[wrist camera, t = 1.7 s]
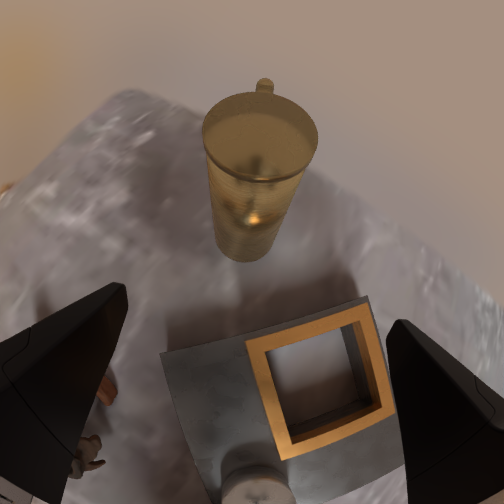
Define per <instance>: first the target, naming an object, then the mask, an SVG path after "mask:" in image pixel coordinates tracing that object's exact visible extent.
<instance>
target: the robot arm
mask: <svg viewBox="0 0 504 504" xmlns="http://www.w3.org/2000/svg"><path fill="white" fill-rule="evenodd" d="M127 311H128V299H127V291H126V286H125V285H124V284H122V283H117V282H112V283H110V284H108V285H106V286H104V287H102V288H101V289H99V290H97V291H95V292H93V293H91V294H89V295H87V296H85V297H83V298H82V299H80V300H78V301H76V302H74V303H72V304H70V305H68V306H67V307H65V308H63V309H61V310H59V311H57V312H56V313H54V314H52V315H50V316H48V317H46V318H45V319H43V320H41V321H39V322H37V323H36V324H34V325H32V326H31V327H28V328H27V329H25V330H23V331H21V332H20V333H18V334H16V335H14V336H12V337H10V338H9V339H7V340H5V341H2V342H0V504H31V502H32V498H33V496H35V497H37V498H39V499H41V500H43V501H45V502H47V503H49V504H61V500H62V497H63V493H64V489H65V485H66V482H67V478H68V475H69V472H70V468H71V465H72V462H73V459H74V455H75V452H76V449H77V446H78V443H79V440H80V437H81V434H82V431H83V428H84V426H85V423H86V420H87V417H88V415H89V412H90V409H91V407H92V404H93V401H94V399H95V396H96V394H97V391H98V389H99V386H100V384H101V381H102V379H103V377H104V374H105V372H106V369H107V367H108V365H109V362H110V360H111V358H112V356H113V353H114V351H115V348H116V345H117V342H118V339H119V336H120V332H121V329H122V326H123V323H124V320H125V317H126V314H127ZM386 348H387V355H388V363H389V371H390V379H391V384H392V389H393V394H394V399H395V404H396V409H397V415H398V421H399V427H400V433H401V439H402V446H403V454H404V462H405V470H406V480H407V493H408V504H504V398H503V397H501V396H500V395H499V394H497V393H496V392H495V391H493V390H492V389H491V388H490V387H488V386H487V385H486V384H485V383H484V382H483V381H481V380H480V379H479V378H478V377H477V376H476V375H474V374H473V373H472V372H471V371H470V370H468V369H467V368H466V367H465V366H464V365H462V364H461V363H460V362H459V361H458V360H457V359H455V358H454V357H453V356H452V355H451V354H449V353H448V352H447V351H446V350H444V349H443V348H442V347H441V346H440V345H438V344H437V343H436V342H435V341H433V340H432V339H431V338H430V337H428V336H427V335H426V334H425V333H423V332H422V331H421V330H420V329H418V328H417V327H416V326H415V325H413V324H412V323H411V322H410V321H408V320H406V319H398V320H396V321H395V322H394V324H393V326H392V328H391V330H390V331H389V333H388V335H387V338H386Z"/></svg>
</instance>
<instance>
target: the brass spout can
mask: <svg viewBox="0 0 504 504" xmlns="http://www.w3.org/2000/svg"><path fill="white" fill-rule="evenodd" d="M273 90H274V84H273V82H272V81H271V80H270V79H267V78H263V79H260V80H259V81H258V82H257V85H256V92H246V93H241V94H236V95H232V96H230V97H227V98H225V99H223V100H222V101H220V102H219V103H217V104H216V105H215V106H214V107H212V109H211V110H210V111H209V112H208V114H207V115H206V117H205V119H204V122H203V127H202V134H203V143H204V148H205V151H206V154H207V165H208V175H209V185H210V195H211V205H212V214H213V223H214V232H215V239H216V243H217V245H218V247H219V249H220V250H221V252H222V253H223V254H224V255H226V256H227V257H228V258H230V259H232V260H235V261H238V262H252V261H256V260H258V259H260V258H262V257H263V256H264V255H266V254H267V253H268V251H269V250H270V248H271V247H272V244H273V242H274V240H275V238H276V235H277V233H278V231H279V228H280V226H281V224H282V222H283V219H284V217H285V215H286V212H287V210H288V208H289V206H290V203H291V201H292V199H293V196H294V194H295V192H296V189H297V187H298V185H299V182H300V180H301V178H302V175H303V173H304V171H305V168H306V167H307V166H308V165H309V163H310V162H311V160H312V158H313V155H314V153H315V151H316V148H317V144H318V132H317V129H316V126H315V124H314V122H313V120H312V119H311V117H310V116H309V115H308V114H307V112H306V111H305V110H303V109H302V108H301V107H300V106H298V105H297V104H296V103H294V102H292V101H291V100H288V99H286V98H284V97H281V96H278V95H275V94H273Z"/></svg>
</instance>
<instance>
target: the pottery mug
mask: <svg viewBox="0 0 504 504" xmlns="http://www.w3.org/2000/svg"><path fill="white" fill-rule="evenodd" d="M117 393H118V392H117V390H116V388H115V387H114V385H113V384H112V383H111V382H110V381H109V379H108V378H106V377H105V376H104V377H103V379H102V381H101V384H100V386H99V389H98V391H97V394H96V395H97V397H99V399H100V400H101V401H102V402H103V403H104V405H105V406H110V405H111V404H112V403H113V400H114V398H115V397H116V395H117ZM101 448H102V444H101V440H100V437H99V436H98V435H92V436H91V437H89V438H86V437H80V440H79V443H78V446H77V449H76V452H75V455H74V459H73V462H72V465H71V468H70V472H69V475H68V477H70V478H74V479H80V478H81V477H82V476H83V473H84V471H91V470H94V469H97V468H99V467H101V466H102V465H104V464H105V463H106V461H105V460H99V461H93V460H94V459H95V458H96V457H97V453H98V451H99V450H100V449H101Z"/></svg>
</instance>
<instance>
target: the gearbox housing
mask: <svg viewBox="0 0 504 504" xmlns="http://www.w3.org/2000/svg"><path fill="white" fill-rule="evenodd" d="M339 327H340V328H341V332H342V335H343V338H344V342H345V345H346V349H347V353H348V356H349V360H350V364H351V367H352V371H353V375H354V379H355V383H356V386H357V390H358V394H359V400H357V401H355V402H352V403H350V404H348V405H345V406H343V407H341V408H338V409H336V410H333V411H331V412H328V413H326V414H323V415H320V416H318V417H315V418H312V419H310V420H307V421H304V422H301V423H298V424H295V425H292V426H289V427H287V426H286V423H285V420H284V416H283V413H282V410H281V406H280V403H279V400H278V396H277V393H276V390H275V386H274V383H273V379H272V376H271V372H270V369H269V366H268V362H267V359H266V355H265V352H266V351H269V350H272V349H276V348H279V347H282V346H286V345H289V344H292V343H295V342H298V341H302V340H305V339H308V338H311V337H314V336H317V335H320V334H323V333H325V332H328V331H331V330H334V329H337V328H339ZM160 357H161V361H162V365H163V369H164V372H165V376H166V380H167V383H168V386H169V390H170V393H171V396H172V400H173V403H174V406H175V409H176V412H177V415H178V418H179V421H180V424H181V427H182V430H183V433H184V436H185V438H186V441H187V444H188V447H189V449H190V452H191V455H192V457H193V460H194V462H195V465H196V467H197V470H198V472H199V474H200V477H201V479H202V482H203V484H204V486H205V488H206V491H207V493H208V495H209V497H210V500H211V502H212V504H322V503H324V502H327V501H329V500H332V499H335V498H337V497H339V496H342V495H344V494H347V493H349V492H351V491H353V490H356V489H358V488H360V487H362V486H364V485H366V484H368V483H370V482H372V481H374V480H376V479H378V478H380V477H382V476H384V475H386V474H388V473H389V472H391V471H393V470H395V469H396V468H398V467H400V466H402V465H403V464H405V462H404V454H403V446H402V439H401V433H400V427H399V421H398V415H397V409H396V404H395V399H394V394H393V389H392V384H391V380H390V375H389V371H388V367H387V363H386V359H385V355H384V351H383V347H382V344H381V340H380V336H379V333H378V329H377V326H376V322H375V319H374V315H373V312H372V309H371V305H370V302H369V299H368V296H367V295H366V296H364V297H361V298H358V299H355V300H352V301H350V302H347V303H344V304H341V305H338V306H335V307H332V308H329V309H326V310H323V311H320V312H317V313H314V314H311V315H307V316H304V317H301V318H298V319H294V320H291V321H288V322H284V323H281V324H278V325H274V326H271V327H267V328H264V329H260V330H256V331H253V332H249V333H245V334H242V335H238V336H234V337H230V338H226V339H222V340H218V341H214V342H210V343H206V344H201V345H197V346H193V347H188V348H184V349H179V350H174V351H170V352H165V353H160Z"/></svg>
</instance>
